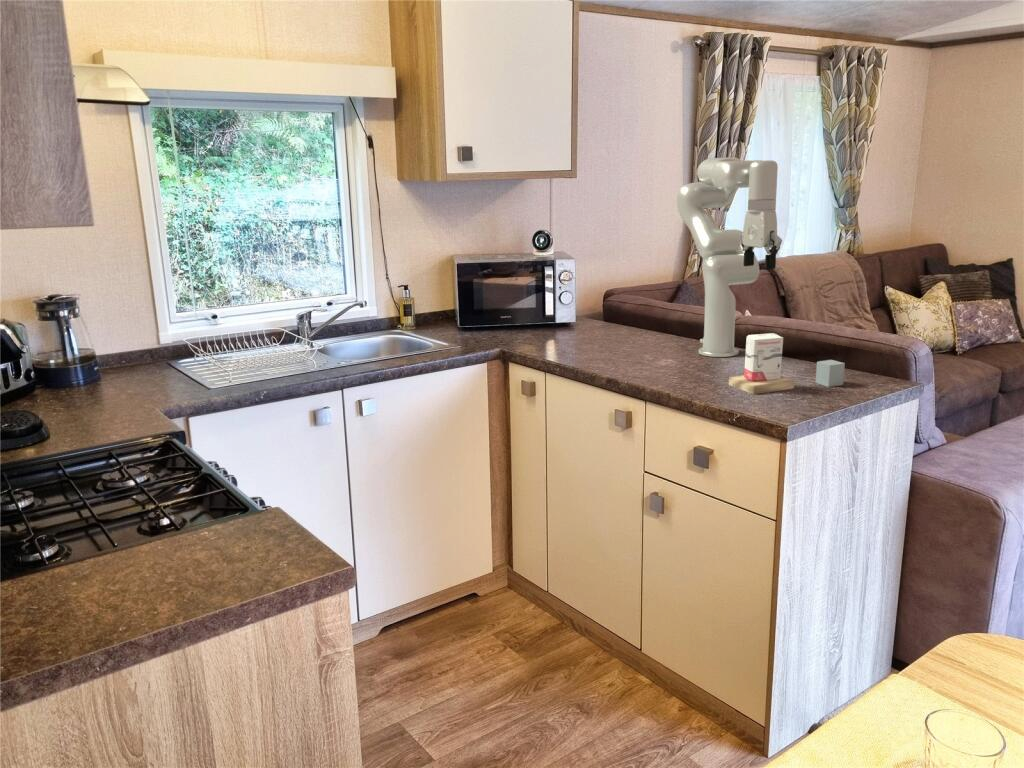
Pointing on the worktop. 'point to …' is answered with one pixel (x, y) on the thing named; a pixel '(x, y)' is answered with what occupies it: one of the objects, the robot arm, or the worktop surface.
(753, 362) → the ink box
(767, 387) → the oak slab
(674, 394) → the worktop surface
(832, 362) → the light gray block
